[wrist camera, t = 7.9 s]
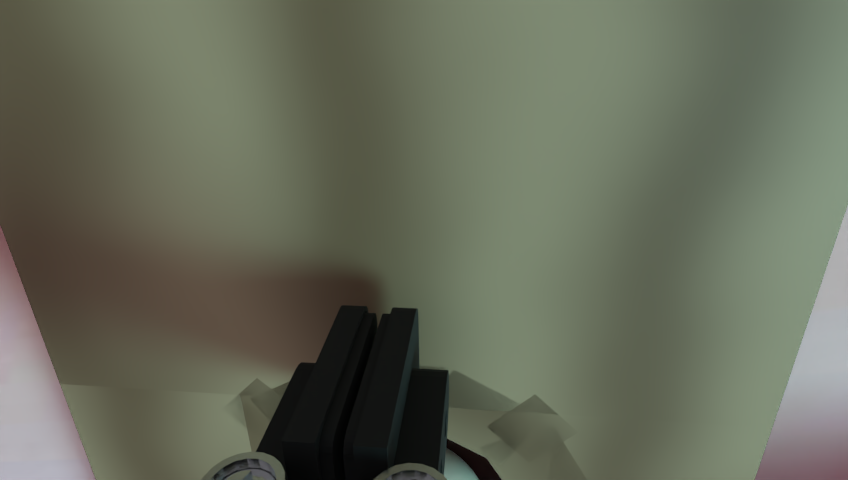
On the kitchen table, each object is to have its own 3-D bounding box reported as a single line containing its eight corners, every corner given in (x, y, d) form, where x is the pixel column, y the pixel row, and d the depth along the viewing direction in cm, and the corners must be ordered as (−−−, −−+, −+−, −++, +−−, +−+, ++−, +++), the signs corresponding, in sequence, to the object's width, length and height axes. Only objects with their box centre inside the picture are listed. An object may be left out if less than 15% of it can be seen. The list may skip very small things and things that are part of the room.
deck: (918, -317, 9) (1055, -409, 7) (667, 590, 20) (690, 669, 17) (-62, -256, 11) (-202, -316, 9) (181, 546, 21) (145, 613, 19)
